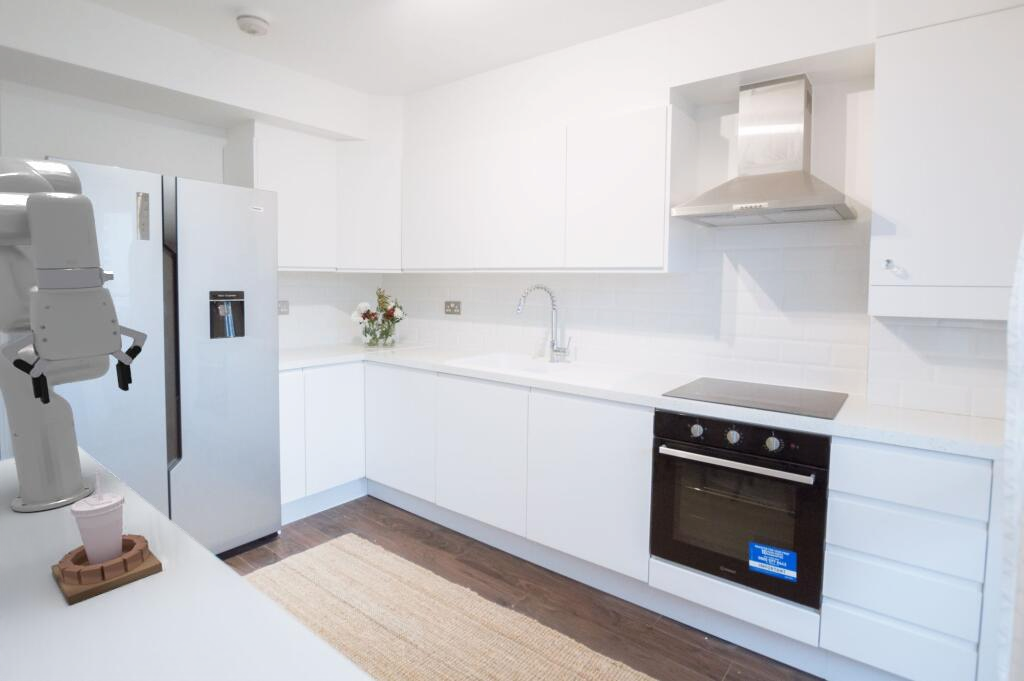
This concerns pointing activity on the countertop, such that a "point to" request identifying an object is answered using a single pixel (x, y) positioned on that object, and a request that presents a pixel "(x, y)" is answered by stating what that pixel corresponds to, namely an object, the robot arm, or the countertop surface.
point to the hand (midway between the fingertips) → (86, 395)
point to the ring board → (104, 570)
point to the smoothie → (100, 524)
